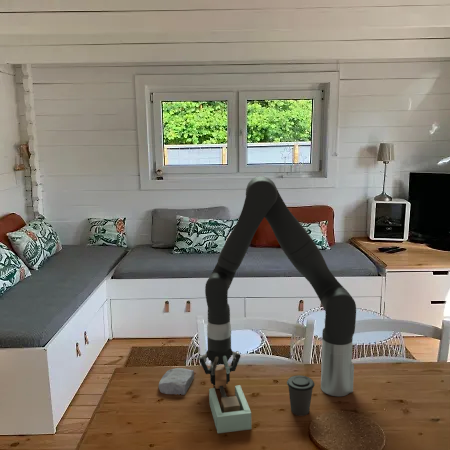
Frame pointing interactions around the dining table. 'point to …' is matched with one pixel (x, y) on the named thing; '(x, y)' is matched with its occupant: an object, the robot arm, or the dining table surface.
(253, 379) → the dining table surface
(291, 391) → the coffee cup
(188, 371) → the stone block
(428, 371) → the dining table surface
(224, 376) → the wooden cube dumbbell
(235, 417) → the channel
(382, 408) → the dining table surface
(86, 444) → the dining table surface
